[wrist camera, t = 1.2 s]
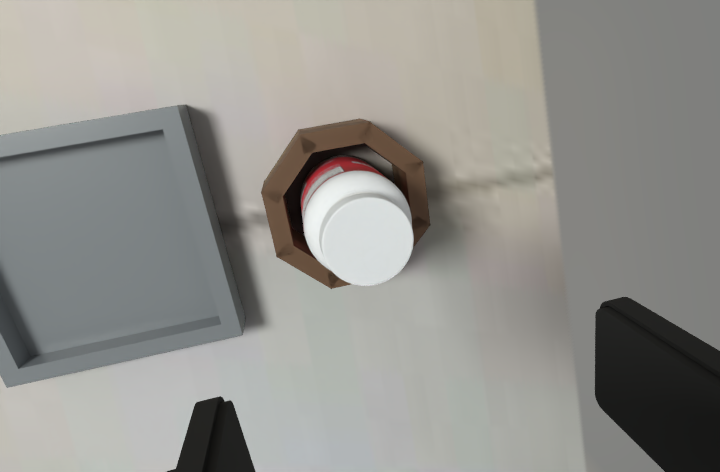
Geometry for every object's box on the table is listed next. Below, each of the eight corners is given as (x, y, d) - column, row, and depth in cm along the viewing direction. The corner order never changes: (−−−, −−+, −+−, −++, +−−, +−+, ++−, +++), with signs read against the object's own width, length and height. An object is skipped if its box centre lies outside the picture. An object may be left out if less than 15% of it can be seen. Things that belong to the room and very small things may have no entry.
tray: (245, 318, 34) (242, 335, 31) (27, 366, 32) (6, 387, 30) (185, 104, 28) (177, 105, 26) (-78, 149, 27) (-113, 153, 25)
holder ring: (418, 247, 34) (435, 266, 30) (286, 275, 33) (286, 298, 29) (401, 110, 31) (417, 112, 27) (253, 137, 30) (248, 142, 26)
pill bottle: (398, 203, 33) (451, 253, 22) (333, 252, 33) (355, 322, 23) (350, 135, 31) (383, 155, 20) (282, 188, 31) (279, 233, 21)
